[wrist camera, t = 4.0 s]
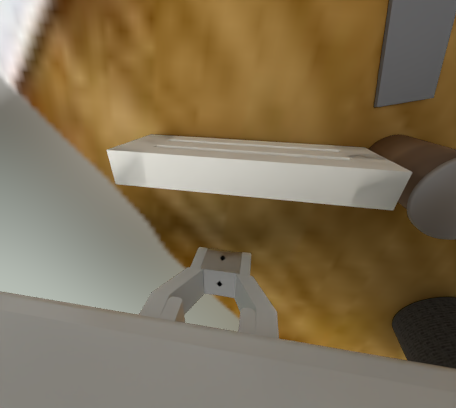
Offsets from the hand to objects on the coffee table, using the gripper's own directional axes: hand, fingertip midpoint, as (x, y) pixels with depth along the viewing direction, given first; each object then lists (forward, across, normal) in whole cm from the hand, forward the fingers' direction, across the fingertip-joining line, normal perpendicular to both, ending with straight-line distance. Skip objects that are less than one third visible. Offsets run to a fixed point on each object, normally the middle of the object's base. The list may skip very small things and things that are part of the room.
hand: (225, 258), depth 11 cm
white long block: (+3, -1, -5) cm, 6 cm away
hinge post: (+4, -9, -5) cm, 11 cm away
